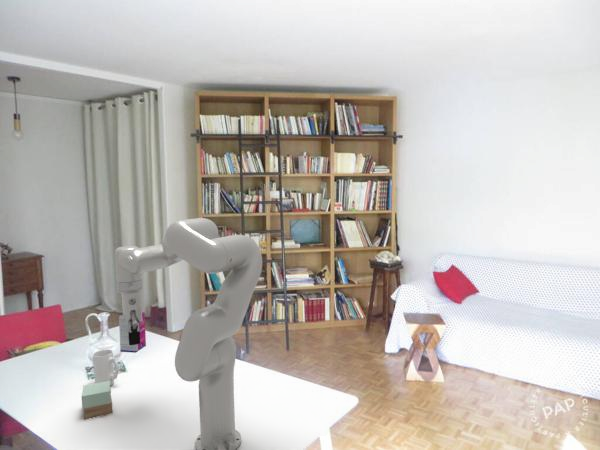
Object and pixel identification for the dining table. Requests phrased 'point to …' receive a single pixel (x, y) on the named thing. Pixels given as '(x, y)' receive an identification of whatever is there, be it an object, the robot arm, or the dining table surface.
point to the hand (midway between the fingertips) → (133, 339)
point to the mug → (105, 366)
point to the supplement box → (125, 336)
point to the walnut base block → (98, 410)
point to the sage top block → (96, 394)
